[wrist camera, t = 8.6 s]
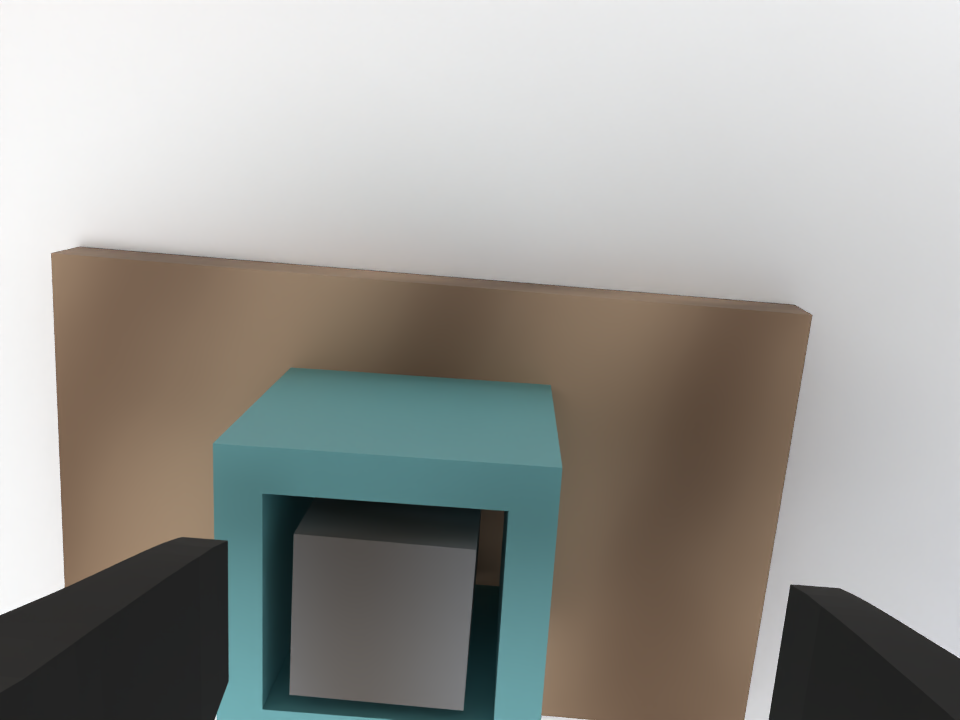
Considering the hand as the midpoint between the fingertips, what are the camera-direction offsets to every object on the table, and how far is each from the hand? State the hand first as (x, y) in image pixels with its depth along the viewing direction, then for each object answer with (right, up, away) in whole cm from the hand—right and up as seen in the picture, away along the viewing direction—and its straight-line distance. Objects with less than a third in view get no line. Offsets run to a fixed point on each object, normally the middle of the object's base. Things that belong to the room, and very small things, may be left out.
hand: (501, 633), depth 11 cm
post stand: (-2, +1, +10) cm, 10 cm away
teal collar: (-2, 0, +8) cm, 9 cm away
